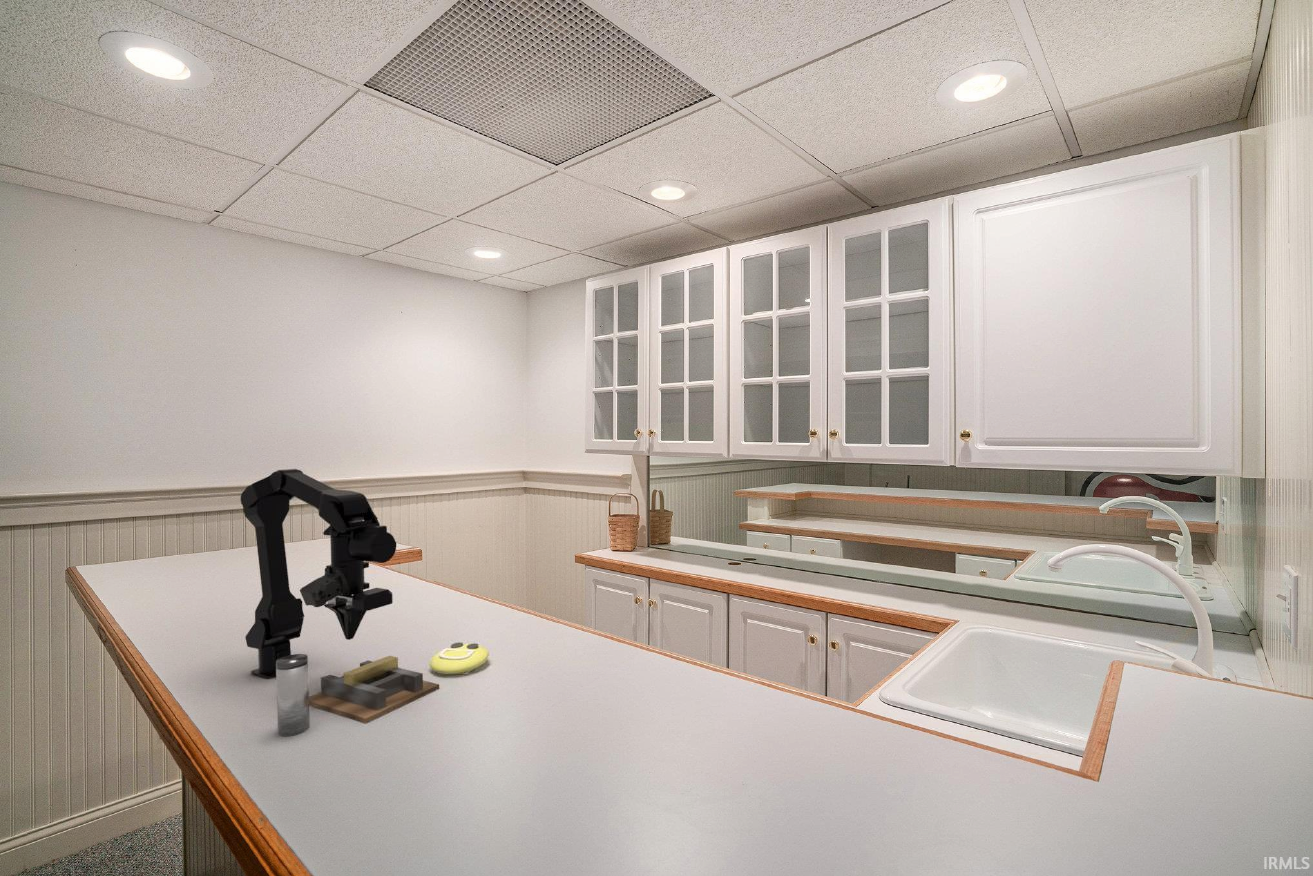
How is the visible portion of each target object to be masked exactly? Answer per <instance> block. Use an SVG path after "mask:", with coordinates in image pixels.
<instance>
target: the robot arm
mask: <svg viewBox="0 0 1313 876" xmlns="http://www.w3.org/2000/svg"><path fill="white" fill-rule="evenodd" d="M294 498H296V499H298V500H300V501H302V502H304V503H306V504H307V505H309V506H312V507H314V508H316V509H317V510H318V516H319V517H320V518H321V519H323V521H324V522H326V523H327V524H328V525H329V526H328V527H327V528H326V529H325V530H324V531H323V532H322V533H323V535H324V536H329V537H330V564H329V565H326V566H325V568H324V575H322V576H320V577H318V578H316V579H314V580H312V581H311V582H309V583H308V584H306V585H304V586H302V587H301V588H300V589H299V592H300V595H301V597H302V599H301V598H300V597H299V598H296V596H295V595H294V594H293V593H292V592H291V589H290V580H289V572H288V563H287V553H286V544H285V536H284V535H285V534H284V533H285V532H284V526H283V525H284V524H283V523H284V521H285V519H286V517H287V516H288V514H289V512H290V507H291V506H290V501H291V500H292V499H294ZM240 503H241V506H242V508H243V509H242V510H243V514H244V517H245V518H246V519H247V520H248V521H249V522H250V523H251V525H252V526H253V527H254V530H255V538H256V539H255V540H256V547H257V557H258V565H259V568H258V569H259V575H260V576H259V577H260V587H261V593H262V595H261V598H260V600H259V602H258V605H257V606H256V608H255V610H254V623H253V625H252V626H251V628H250V629H249V631H248V632H247V633H246V635H245V637H244V638H245V641H246V646H247V648H251V649H256V650H257V653H258V654H257V657H258V668H256V669H253V670H251V671H250V673H251V674H253V675H255V676H259V677H262V678H265V679H270V678H273V677H276V661H277V660H278V659H279V658H282V657H285V656H288V655H292V650H291V640H293V639H296V638H300V637H301V633H302V629H303V625H304V621H305V620H304V619H305V618H304V617H305V614H304V610H303V601H304V604H305V606H307V607H308V606H313V607H314V608H320V607H321V608H322V607H323V606H324V607H325V608H327V609H329V611H331V612H333V613H334V614H335V616H336V618H337V620H338V622H339V625H340V628H341V631H342V633H343V635H344V637H345V638H344V639H346V640H347V641H348V640H353V639H354V638H355V635H356V633H357V631H358V629H359V626H360V625H361V622H362V621H363V619H364V616H365V615H366V613H367V612H368V611H372V610H376V609H379V608H381V607H382V608H383V607H385V606H389V605H391V604H393V603H394V602H393V601H394V599H393V592H392V591H391V590H390V589H388V588H387V589H386V588H383V587H374V588H371V589H370V582H365V569H367V568H368V569H369V568H370V563H377V564H378V563H379V564H384V563H387V562H389V561H390V560H391V559H392V558H394V555H395V554H396V551H397V541H396V539H395V537H394V535H393V534H392V533H390V532H388V527H387V525H381V524H380V522H379V520H378V517H377V514H375V512H374V510H373V508H372V507H371V505H370V503H369V501H368V499H367V497H366V495H364V494H363V493H361V492H358V491H353V490H344V489H336V488H334V487H332V486H329V485H327V484H326V483H323V482H322V481H319V480H317V479H316V478H313V477H312V476H310V475H307V474H305V473H304V472H303V471H302V470H300V469H297V468H291V469H278V470H276V471H273V472H272V473H271V474H269V475H268V476H266V477H264V478H262V479H260V480H258V481H255V482H253V483H251V484H250V485H247V486H246V487H245V489H244V490H243V491H242V492H241V494H240Z"/></svg>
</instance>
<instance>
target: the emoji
mask: <svg viewBox="0 0 1313 876" xmlns="http://www.w3.org/2000/svg"><path fill="white" fill-rule="evenodd" d="M489 655H490V652H489V651H488V649H487V648H485V647H484V646H481V645H479V643H476V642H475V643H469V644H468V643H467V644H465V643H463V642H454V643H452V644H451V645H450V647H447V648H443V649H442V650H440V651H439V652H437V653H436V654H434V655H433V656H432V657H431V659H430V661H429V667H430V669H431V670H433V672H434V673H439V674H445V675H456V674H457V675H467V674H468V673H470V671H472V670H475V669H477V668H479V667H480V666H482V665H483V664H485V663H486V661H487V660H488V658H489Z"/></svg>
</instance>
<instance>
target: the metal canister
mask: <svg viewBox="0 0 1313 876" xmlns="http://www.w3.org/2000/svg"><path fill="white" fill-rule="evenodd" d="M308 657H309V655H308V654H305V653H295V654H291V655H288V656H285V657H282V658H279V659H278V660H277V661H276V676H275V677H276V678H275V679H276V705H277V707H276V709H277V710H276V711H277V714H276V715H277V734H278V736H280V737H293V736H297V735H301V734H302V733H305V732H306V731H308V730H309V729H310V728H311V727H310V726H311V724H310V721H311V720H310V705H309V696H310V693H309V690H310V689H309V658H308Z"/></svg>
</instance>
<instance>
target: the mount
mask: <svg viewBox="0 0 1313 876" xmlns="http://www.w3.org/2000/svg"><path fill="white" fill-rule="evenodd" d="M371 662H374V661H372V660H368V659H367V660H365V661H363V662H360V663H359V667H361V666H363V665H366V664H369V663H371ZM439 689H440V683H435V682H431V681H428V680H424V674H423V673H422V672H419V671H414V670H411V669H410V670H409V669H406V668H401V667H398V668H396V669H393V670H391V671H388V672H386V673H384V674H381V675H379V676H376V677H374V678H371V679H369V680H366V681H364V682H361V683H359V684H356V685H354V686H350V685H347V684H344V675H341V676H337V675H332V674H327V675H326V676H322V677H320V691H319V692H316V693H314V694H311V695H309V707H314V708H315V709H316V708H318V709H320V710H323V711H326V712H328V713H333V714H336V715H338V716H339V715H340V716H342V717H345V718H348V719H352V720H355V721H357V722H361V723H364V724H367V723H369V722H372V721H374V720H376V719H378V718H380V717H382V716H384V715H386V714H388V713H390V712H394V711H395V710H397V709H399V708H401V707H403V706H405V705H408V704H409V703H412V702H414V701H415V700H418V699H420V698H422V697H425V696H426V695H429V694H431V693H433V692H435V691H437V690H439Z"/></svg>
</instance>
